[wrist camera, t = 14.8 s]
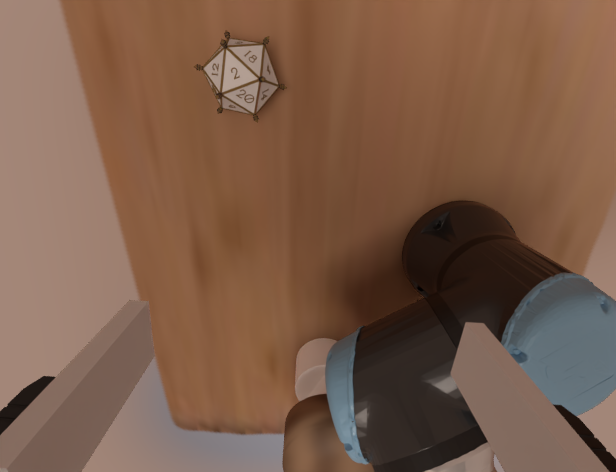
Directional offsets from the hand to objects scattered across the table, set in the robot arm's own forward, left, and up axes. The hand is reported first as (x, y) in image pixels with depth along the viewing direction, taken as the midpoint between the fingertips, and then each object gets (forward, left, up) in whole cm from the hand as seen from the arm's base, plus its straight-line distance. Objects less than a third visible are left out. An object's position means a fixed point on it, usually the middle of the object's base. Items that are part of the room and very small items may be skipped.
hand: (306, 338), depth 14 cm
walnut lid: (-5, +29, -20) cm, 36 cm away
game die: (+8, -12, -32) cm, 35 cm away
